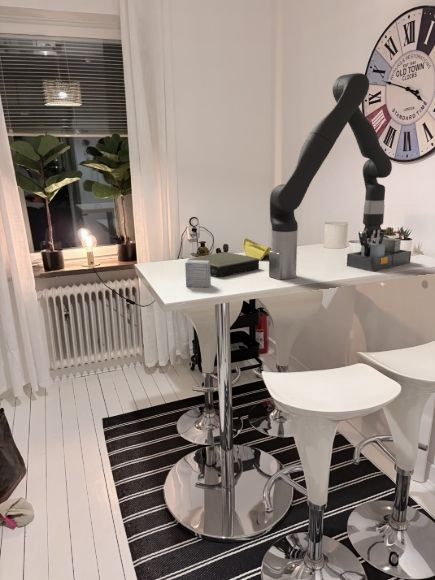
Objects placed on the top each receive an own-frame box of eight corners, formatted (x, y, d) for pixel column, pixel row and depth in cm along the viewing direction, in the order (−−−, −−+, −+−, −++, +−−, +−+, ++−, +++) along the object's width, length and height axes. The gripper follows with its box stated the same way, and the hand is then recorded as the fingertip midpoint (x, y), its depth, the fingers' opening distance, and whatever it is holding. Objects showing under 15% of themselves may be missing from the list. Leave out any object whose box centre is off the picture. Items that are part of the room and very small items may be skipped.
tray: (373, 271, 162) (375, 245, 160) (346, 265, 173) (348, 241, 170) (410, 263, 175) (413, 239, 172) (383, 258, 185) (385, 235, 182)
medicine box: (211, 284, 149) (210, 260, 147) (208, 288, 145) (207, 263, 142) (189, 283, 151) (188, 259, 148) (185, 287, 146) (184, 262, 144)
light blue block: (377, 266, 166) (379, 246, 163) (360, 263, 172) (362, 243, 170) (383, 265, 168) (385, 245, 165) (366, 261, 174) (368, 242, 172)
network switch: (263, 268, 172) (263, 256, 171) (225, 280, 156) (225, 267, 154) (220, 261, 188) (220, 250, 186) (182, 271, 171) (181, 259, 170)
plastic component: (282, 253, 190) (266, 245, 184) (275, 268, 191) (259, 261, 185) (257, 243, 206) (242, 236, 201) (251, 257, 207) (235, 250, 201)
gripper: (369, 214, 158) (366, 259, 163) (393, 211, 166) (389, 254, 170) (353, 212, 164) (350, 256, 169) (377, 210, 172) (373, 252, 176)
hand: (370, 255), depth 170 cm, fingers closed on light blue block, 3 cm apart
